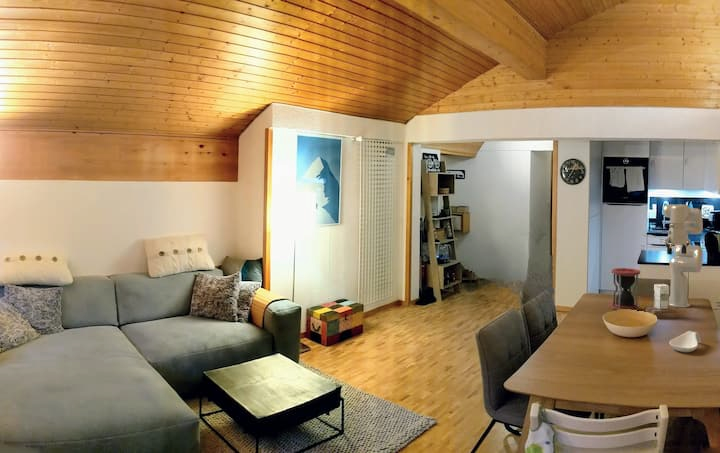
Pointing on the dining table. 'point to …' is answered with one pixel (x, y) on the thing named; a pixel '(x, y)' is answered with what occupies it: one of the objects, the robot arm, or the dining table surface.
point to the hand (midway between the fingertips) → (676, 253)
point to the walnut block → (661, 312)
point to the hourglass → (625, 288)
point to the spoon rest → (686, 342)
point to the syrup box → (661, 296)
